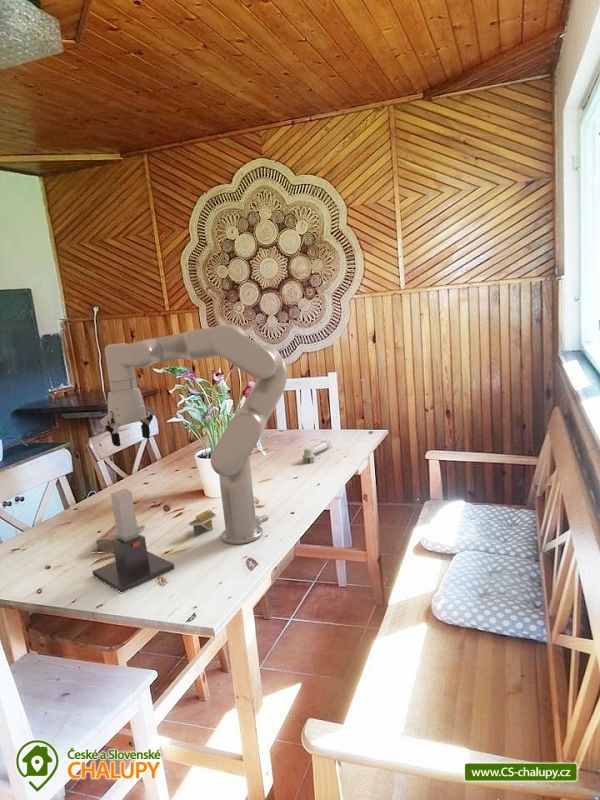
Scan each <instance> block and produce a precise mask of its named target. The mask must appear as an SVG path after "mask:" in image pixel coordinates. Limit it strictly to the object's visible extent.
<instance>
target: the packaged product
mask: <svg viewBox="0 0 600 800" xmlns="http://www.w3.org/2000/svg"><path fill="white" fill-rule="evenodd" d="M136 523H137V520H136ZM144 528H145V529H146V525H143V524H141V525H137V530H138V533H139V534H140V533H141V532H142V531H143V532H144V531H145V529H144ZM141 534H142V533H141ZM141 534H140V535H141ZM116 538H117V529H116V523H115V524H113V526H111V527H110V528H109V529H108V530H107V531H106V532H104V533H103V534H102V535H101V536H100V537H99V538H97V539H96V547H95V548H93V549H92V550H91V551H90V553H91V552H114V549H113V543H112V540H113V539H116Z"/></svg>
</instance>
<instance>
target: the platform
mask: <svg viewBox="0 0 600 800" xmlns="http://www.w3.org/2000/svg"><path fill="white" fill-rule="evenodd" d="M216 517H217V514H215V512H213V511H212V510H209V509H207V510H205V511H203V512H201V513H199V514H197V515H196V516H195V519H194V520H193V521H192V520H191V521H190V522H188V525H189V526H191V527H193V533H194V535H193V536H194V537H198V536H200V535H201V534H203V533H204V532H206V531H212V530H213V528H214V527H213V519H214V518H216Z"/></svg>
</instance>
